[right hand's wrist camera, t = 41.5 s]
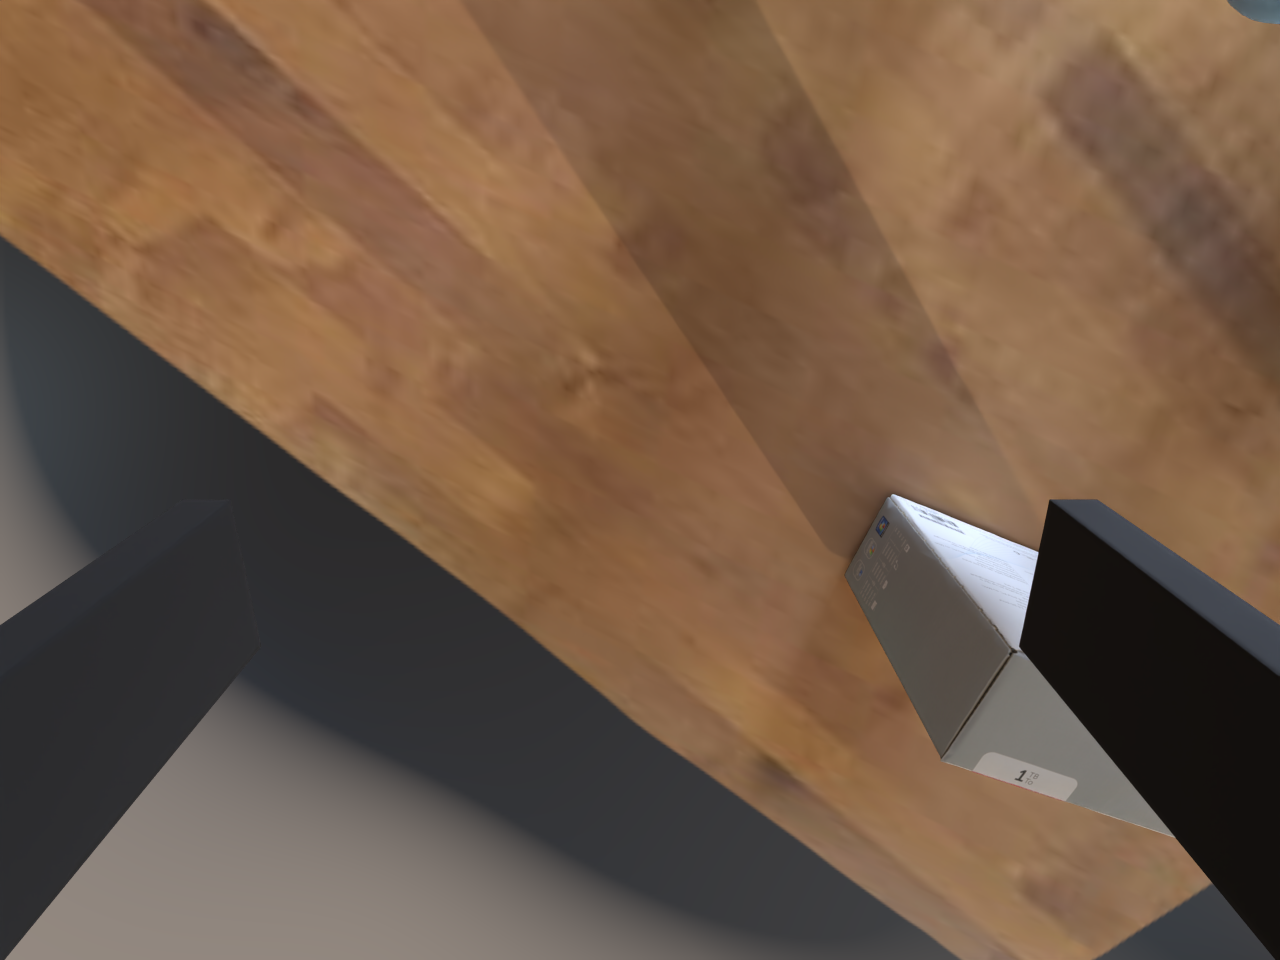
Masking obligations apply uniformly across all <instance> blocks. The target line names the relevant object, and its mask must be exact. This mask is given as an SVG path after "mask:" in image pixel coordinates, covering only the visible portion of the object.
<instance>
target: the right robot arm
mask: <svg viewBox="0 0 1280 960" xmlns="http://www.w3.org/2000/svg"><path fill="white" fill-rule="evenodd" d="M1227 1H1228V3H1229V4H1230V5H1231V6H1232V7H1233V8H1234V9H1236V10H1237V11H1238V12H1239V13H1240V14H1242V15H1244V16H1246V17H1248V18H1249V19H1252V20H1255V21H1259V22H1264V23H1273V24H1280V0H1227ZM260 647H261V643H260V639H259V634H258V629H257V624H256V620H255V615H254V610H253V605H252V601H251V596H250V591H249V586H248V581H247V577H246V572H245V567H244V562H243V558H242V553H241V548H240V543H239V539H238V534H237V529H236V524H235V519H234V515H233V510H232V505H231V501H230V500H181V501H180V502H178V503H177V504H176V505H174V506H173V507H171V508H170V509H168V510H167V511H165V512H164V513H163V514H161V515H160V516H158V517H157V518H155V519H154V520H152V521H151V522H149V523H148V524H147V525H145V526H144V527H142V528H141V529H139V530H138V531H136V532H135V533H134V534H132V535H131V536H129V537H128V538H126V539H125V540H123V541H122V542H120V543H119V544H117V545H116V546H115V547H113V548H112V549H110V550H109V551H107V552H106V553H104V554H103V555H102V556H100V557H99V558H97V559H96V560H94V561H93V562H91V563H90V564H88V565H87V566H86V567H84V568H83V569H81V570H80V571H78V572H77V573H75V574H74V575H72V576H71V577H70V578H68V579H67V580H65V581H64V582H62V583H61V584H59V585H58V586H57V587H55V588H54V589H52V590H51V591H49V592H48V593H46V594H45V595H43V596H42V597H41V598H39V599H38V600H36V601H35V602H33V603H32V604H30V605H29V606H28V607H26V608H25V609H23V610H22V611H20V612H19V613H17V614H16V615H14V616H13V617H12V618H10V619H9V620H7V621H6V622H4V623H3V624H1V625H0V960H5V958H6V957H7V956H8V955H9V954H10V952H11V951H12V950H13V949H14V947H15V946H16V945H17V944H18V943H19V941H20V940H21V939H22V938H23V937H24V935H25V934H26V933H27V932H28V930H29V929H30V928H31V927H32V926H33V924H34V923H35V922H36V921H37V919H38V918H39V917H40V916H41V915H42V913H43V912H44V911H45V910H46V908H47V907H48V906H49V905H50V904H51V902H52V901H53V900H54V899H55V897H56V896H57V895H58V894H59V893H60V891H61V890H62V889H63V888H64V887H65V885H66V884H67V883H68V882H69V880H70V879H71V878H72V877H73V876H74V874H75V873H76V872H77V871H78V869H79V868H80V867H81V866H82V865H83V863H84V862H85V861H86V860H87V858H88V857H89V856H90V855H91V854H92V852H93V851H94V850H95V849H96V847H97V846H98V845H99V844H100V843H101V841H102V840H103V839H104V838H105V836H106V835H107V834H108V833H109V832H110V830H111V829H112V828H113V827H114V826H115V824H116V823H117V822H118V821H119V819H120V818H121V817H122V816H123V814H124V813H125V812H126V811H127V810H128V808H129V807H130V806H131V805H132V804H133V802H134V801H135V800H136V799H137V797H138V796H139V795H140V794H141V793H142V791H143V790H144V789H145V788H146V787H147V785H148V784H149V783H150V782H151V780H152V779H153V778H154V777H155V776H156V774H157V773H158V772H159V771H160V769H161V768H162V767H163V766H164V765H165V763H166V762H167V761H168V760H169V758H170V757H171V756H172V755H173V753H174V752H175V751H176V750H177V749H178V747H179V746H180V745H181V744H182V742H183V741H184V740H185V739H186V738H187V736H188V735H189V734H190V733H191V732H192V730H193V729H194V728H195V727H196V725H197V724H198V723H199V722H200V721H201V719H202V718H203V717H204V716H205V715H206V713H207V712H208V711H209V710H210V708H211V707H212V706H213V705H214V704H215V702H216V701H217V700H218V699H219V697H220V696H221V695H222V694H223V693H224V691H225V690H226V689H227V688H228V686H229V685H230V684H231V683H232V682H233V680H234V679H235V678H236V677H237V676H238V674H239V673H240V672H241V671H242V669H243V668H244V667H245V666H246V664H247V663H248V662H249V661H250V660H251V658H252V657H253V656H254V655H255V654H256V652H257V651H258V650H259V649H260ZM1019 647H1020V649H1021V650H1022V651H1023V652H1024V654H1025V655H1026V656H1027V657H1028V658H1029V660H1030V661H1031V662H1032V663H1033V665H1034V666H1035V667H1036V668H1037V669H1038V671H1039V672H1040V673H1041V674H1042V676H1043V677H1044V678H1045V679H1046V680H1047V682H1048V683H1049V684H1050V685H1051V686H1052V688H1053V689H1054V690H1055V691H1056V693H1057V694H1058V695H1059V696H1060V697H1061V699H1062V700H1063V701H1064V702H1065V704H1066V705H1067V706H1068V707H1069V708H1070V710H1071V711H1072V712H1073V713H1074V715H1075V716H1076V717H1077V718H1078V719H1079V721H1080V722H1081V723H1082V724H1083V726H1084V727H1085V728H1086V729H1087V730H1088V732H1089V733H1090V734H1091V735H1092V736H1093V738H1094V739H1095V740H1096V741H1097V743H1098V744H1099V745H1100V746H1101V747H1102V749H1103V750H1104V751H1105V752H1106V754H1107V755H1108V756H1109V757H1110V758H1111V760H1112V761H1113V762H1114V763H1115V765H1116V766H1117V767H1118V768H1119V769H1120V771H1121V772H1122V773H1123V774H1124V776H1125V777H1126V778H1127V779H1128V780H1129V782H1130V783H1131V784H1132V785H1133V787H1134V788H1135V789H1136V790H1137V791H1138V793H1139V794H1140V795H1141V796H1142V797H1143V799H1144V800H1145V801H1146V802H1147V804H1148V805H1149V806H1150V807H1151V808H1152V810H1153V811H1154V812H1155V813H1156V815H1157V816H1158V817H1159V818H1160V819H1161V821H1162V822H1163V823H1164V824H1165V826H1166V827H1167V828H1168V829H1169V830H1170V832H1171V833H1172V834H1173V835H1174V837H1175V838H1176V839H1177V840H1178V841H1179V843H1180V844H1181V845H1182V846H1183V847H1184V849H1185V850H1186V851H1187V852H1188V854H1189V855H1190V856H1191V857H1192V858H1193V860H1194V861H1195V862H1196V863H1197V865H1198V866H1199V867H1200V868H1201V869H1202V871H1203V872H1204V873H1205V874H1206V876H1207V877H1208V878H1209V879H1210V880H1211V882H1212V883H1213V884H1214V885H1215V887H1216V888H1217V889H1218V890H1219V891H1220V893H1221V894H1222V895H1223V896H1224V897H1225V899H1226V900H1227V901H1228V902H1229V904H1230V905H1231V906H1232V907H1233V908H1234V910H1235V911H1236V912H1237V913H1238V915H1239V916H1240V917H1241V918H1242V919H1243V921H1244V922H1245V923H1246V924H1247V926H1248V927H1249V928H1250V929H1251V930H1252V932H1253V933H1254V934H1255V935H1256V937H1257V938H1258V939H1259V940H1260V941H1261V943H1262V944H1263V945H1264V946H1265V947H1266V949H1267V950H1268V951H1269V952H1270V954H1271V955H1272V956H1273V957H1274V958H1275V960H1280V625H1279V624H1277V623H1276V622H1274V621H1273V620H1271V619H1270V618H1268V617H1267V616H1266V615H1264V614H1263V613H1261V612H1260V611H1258V610H1257V609H1255V608H1254V607H1253V606H1251V605H1250V604H1248V603H1247V602H1245V601H1244V600H1242V599H1241V598H1239V597H1238V596H1237V595H1235V594H1234V593H1232V592H1231V591H1229V590H1228V589H1226V588H1225V587H1223V586H1222V585H1221V584H1219V583H1218V582H1216V581H1215V580H1213V579H1212V578H1210V577H1209V576H1208V575H1206V574H1205V573H1203V572H1202V571H1200V570H1199V569H1197V568H1196V567H1194V566H1193V565H1192V564H1190V563H1189V562H1187V561H1186V560H1184V559H1183V558H1181V557H1180V556H1178V555H1177V554H1176V553H1174V552H1173V551H1171V550H1170V549H1168V548H1167V547H1165V546H1164V545H1163V544H1161V543H1160V542H1158V541H1157V540H1155V539H1154V538H1152V537H1151V536H1149V535H1148V534H1147V533H1145V532H1144V531H1142V530H1141V529H1139V528H1138V527H1136V526H1135V525H1133V524H1132V523H1131V522H1129V521H1128V520H1126V519H1125V518H1123V517H1122V516H1120V515H1119V514H1117V513H1116V512H1115V511H1113V510H1112V509H1110V508H1109V507H1107V506H1106V505H1104V504H1103V503H1102V502H1100V501H1099V500H1049V505H1048V510H1047V515H1046V519H1045V524H1044V529H1043V534H1042V538H1041V543H1040V548H1039V553H1038V557H1037V562H1036V567H1035V572H1034V577H1033V581H1032V586H1031V591H1030V596H1029V600H1028V605H1027V610H1026V615H1025V619H1024V624H1023V629H1022V634H1021V639H1020V643H1019Z"/></svg>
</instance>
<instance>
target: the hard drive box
mask: <svg viewBox="0 0 1280 960" xmlns="http://www.w3.org/2000/svg"><path fill="white" fill-rule="evenodd" d="M1038 553H1039V552H1036V551H1034V550H1032V549H1029V548H1027V547H1024V546H1022V545H1019V544H1017V543H1014V542H1011V541H1009V540H1006V539H1004V538H1001V537H999V536H997V535H994V534H992V533H989V532H987V531H984V530H982V529H979V528H977V527H974V526H972V525H969V524H967V523H964V522H962V521H959V520H957V519H954V518H952V517H949V516H947V515H945V514H942V513H940V512H938V511H935V510H933V509H930V508H927V507H925V506H922V505H919V504H917V503H914V502H912V501H909V500H907V499H904V498H902V497H899V496H897V495H894V494H892V495H891V497H887V499H886V500H885V502H884V504H883V506H882V507H881V509H880V511H879V513H878V515H877V517H876V518H875V520H874V522H873V524H872V526H871V527H870V529H869V531H868V533H867V535H866V536H865V538H864V540H863V542H862V544H861V545H860V547H859V549H858V551H857V553H856V554H855V556H854V558H853V560H852V562H851V564H850V565H849V567H848V569H847V571H846V573H845V578H846V579H847V581H848V583H849V585H850V587H851V589H852V591H853V593H854V595H855V596H856V598H857V600H858V602H859V604H860V606H861V608H862V610H863V612H864V614H865V616H866V618H867V619H868V621H869V623H870V625H871V627H872V629H873V631H874V632H875V634H876V636H877V638H878V640H879V642H880V644H881V645H882V647H883V649H884V651H885V653H886V655H887V657H888V659H889V661H890V662H891V664H892V666H893V668H894V670H895V672H896V674H897V676H898V677H899V679H900V681H901V683H902V685H903V687H904V689H905V691H906V693H907V694H908V696H909V698H910V700H911V702H912V704H913V706H914V708H915V709H916V711H917V713H918V715H919V717H920V719H921V721H922V723H923V725H924V727H925V728H926V730H927V732H928V734H929V736H930V738H931V740H932V742H933V744H934V746H935V747H936V749H937V751H938V753H939V755H940V758H941V760H940V761H942V762H945V763H948V764H952V765H955V766H958V767H961V768H964V769H967V770H970V771H972V772H975V773H978V774H981V775H984V776H987V777H990V778H993V779H996V780H999V781H1003V782H1006V783H1009V784H1012V785H1015V786H1018V787H1021V788H1024V789H1027V790H1030V791H1033V792H1036V793H1039V794H1042V795H1045V796H1049V797H1052V798H1055V799H1058V800H1061V801H1065V802H1069V803H1072V804H1075V805H1078V806H1081V807H1084V808H1087V809H1090V810H1092V811H1096V812H1099V813H1101V814H1104V815H1107V816H1110V817H1113V818H1116V819H1120V820H1123V821H1126V822H1129V823H1132V824H1135V825H1138V826H1141V827H1144V828H1147V829H1150V830H1153V831H1156V832H1159V833H1162V834H1166V835H1169V836H1172V837H1174V835H1173V834H1172V833H1171V832H1170V830H1169V829H1168V828H1167V827H1166V826H1165V824H1164V823H1163V822H1162V821H1161V819H1160V818H1159V817H1158V816H1157V815H1156V813H1155V812H1154V811H1153V810H1152V808H1151V807H1150V806H1149V805H1148V804H1147V802H1146V801H1145V800H1144V799H1143V797H1142V796H1141V795H1140V794H1139V793H1138V791H1137V790H1136V789H1135V788H1134V787H1133V785H1132V784H1131V783H1130V782H1129V780H1128V779H1127V778H1126V777H1125V776H1124V774H1123V773H1122V772H1121V771H1120V769H1119V768H1118V767H1117V766H1116V765H1115V763H1114V762H1113V761H1112V760H1111V758H1110V757H1109V756H1108V755H1107V754H1106V752H1105V751H1104V750H1103V749H1102V747H1101V746H1100V745H1099V744H1098V743H1097V741H1096V740H1095V739H1094V738H1093V736H1092V735H1091V734H1090V733H1089V732H1088V730H1087V729H1086V728H1085V727H1084V726H1083V724H1082V723H1081V722H1080V721H1079V719H1078V718H1077V717H1076V716H1075V715H1074V713H1073V712H1072V711H1071V710H1070V708H1069V707H1068V706H1067V705H1066V704H1065V702H1064V701H1063V700H1062V699H1061V697H1060V696H1059V695H1058V694H1057V693H1056V691H1055V690H1054V689H1053V688H1052V686H1051V685H1050V684H1049V683H1048V682H1047V680H1046V679H1045V678H1044V677H1043V676H1042V674H1041V673H1040V672H1039V671H1038V669H1037V668H1036V667H1035V666H1034V665H1033V663H1032V662H1031V661H1030V660H1029V658H1028V657H1027V656H1026V655H1025V654H1024V652H1023V651H1022V650H1021V649H1020V647H1019V643H1020V639H1021V634H1022V629H1023V624H1024V619H1025V615H1026V610H1027V605H1028V600H1029V596H1030V591H1031V586H1032V581H1033V577H1034V572H1035V567H1036V562H1037V557H1038ZM1174 838H1175V837H1174Z"/></svg>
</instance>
